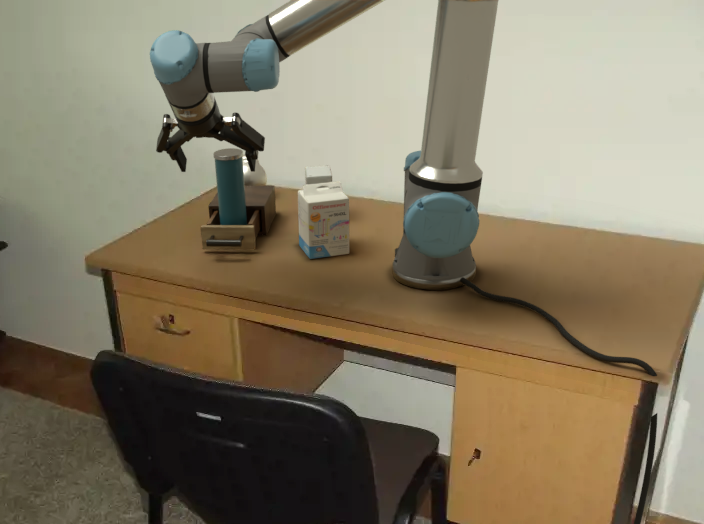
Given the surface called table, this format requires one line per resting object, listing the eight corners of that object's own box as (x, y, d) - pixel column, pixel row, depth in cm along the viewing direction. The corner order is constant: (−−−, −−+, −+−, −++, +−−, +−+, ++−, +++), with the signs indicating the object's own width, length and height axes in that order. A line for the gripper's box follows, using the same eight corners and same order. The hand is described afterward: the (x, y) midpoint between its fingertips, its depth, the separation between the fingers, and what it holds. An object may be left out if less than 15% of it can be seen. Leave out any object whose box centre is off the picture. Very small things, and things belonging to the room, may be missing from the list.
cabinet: (266, 235, 187) (264, 205, 184) (210, 235, 189) (208, 205, 186) (276, 213, 199) (274, 185, 195) (223, 213, 201) (221, 185, 198)
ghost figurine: (273, 191, 213) (271, 150, 208) (261, 204, 205) (258, 162, 200) (238, 190, 215) (235, 149, 210) (225, 202, 208) (221, 160, 203)
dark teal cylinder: (254, 232, 184) (248, 151, 175) (231, 240, 181) (224, 158, 172) (237, 225, 188) (231, 146, 179) (214, 233, 185) (207, 152, 176)
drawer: (251, 257, 175) (249, 234, 172) (197, 256, 177) (195, 234, 174) (264, 227, 189) (263, 206, 186) (215, 227, 191) (213, 206, 188)
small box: (333, 222, 191) (332, 175, 186) (307, 224, 192) (306, 176, 186) (331, 210, 198) (330, 164, 193) (306, 211, 199) (304, 166, 193)
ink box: (308, 260, 174) (306, 194, 167) (298, 245, 181) (296, 181, 175) (350, 254, 175) (350, 188, 169) (338, 239, 183) (337, 176, 176)
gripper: (120, 125, 150) (154, 183, 170) (264, 122, 145) (281, 182, 166) (125, 86, 151) (158, 148, 172) (267, 82, 147) (284, 147, 167)
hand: (218, 165), depth 169 cm, fingers open, 13 cm apart
